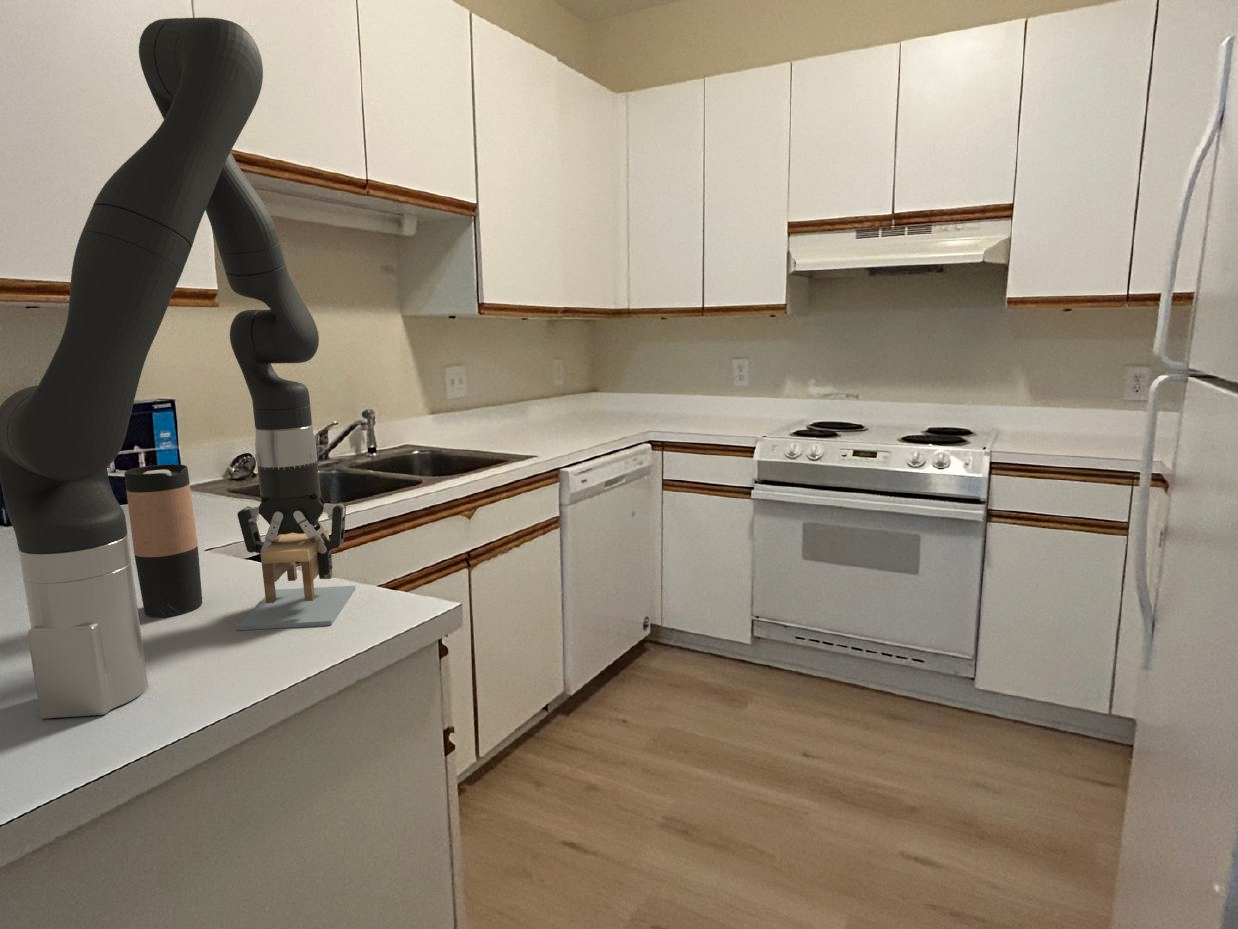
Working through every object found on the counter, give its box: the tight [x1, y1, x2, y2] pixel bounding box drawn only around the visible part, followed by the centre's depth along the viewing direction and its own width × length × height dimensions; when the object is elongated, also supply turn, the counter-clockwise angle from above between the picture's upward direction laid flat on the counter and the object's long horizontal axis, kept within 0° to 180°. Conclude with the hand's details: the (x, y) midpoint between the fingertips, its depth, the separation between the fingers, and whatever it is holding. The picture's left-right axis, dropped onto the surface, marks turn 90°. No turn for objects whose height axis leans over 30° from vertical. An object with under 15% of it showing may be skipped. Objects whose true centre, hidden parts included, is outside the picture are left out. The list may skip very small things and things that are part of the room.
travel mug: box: [124, 463, 203, 618], centre depth 106 cm, size 8×8×20 cm
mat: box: [235, 585, 356, 632], centre depth 106 cm, size 14×12×1 cm
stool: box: [259, 529, 333, 603], centre depth 105 cm, size 10×6×7 cm, turn 6°
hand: (299, 578), depth 106 cm, fingers closed on stool, 6 cm apart
